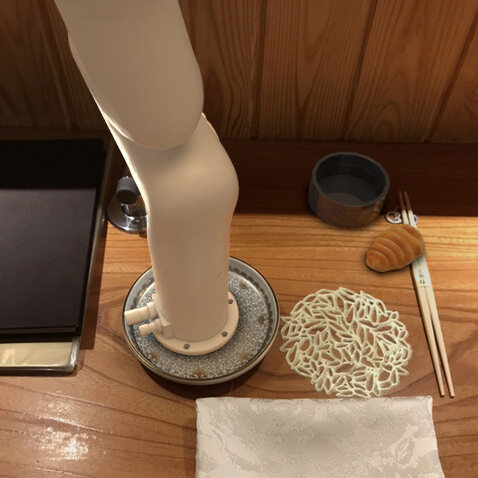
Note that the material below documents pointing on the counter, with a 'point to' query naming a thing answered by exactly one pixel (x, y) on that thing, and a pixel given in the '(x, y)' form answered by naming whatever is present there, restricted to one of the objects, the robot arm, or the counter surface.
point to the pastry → (395, 248)
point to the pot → (348, 189)
